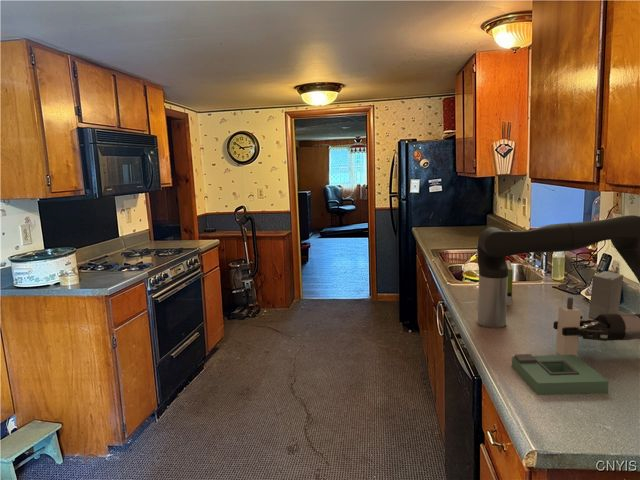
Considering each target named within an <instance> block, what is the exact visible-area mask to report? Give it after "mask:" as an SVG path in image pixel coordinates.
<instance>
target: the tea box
mask: <svg viewBox="0 0 640 480" xmlns="http://www.w3.org/2000/svg"><path fill="white" fill-rule="evenodd" d="M506 264H507V267H508V288H507V306H512V303H513V301H512V299H513V278H514V277H513V276H514V275H513V274H514V273H513V266H512V263H511V260H506Z"/></svg>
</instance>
